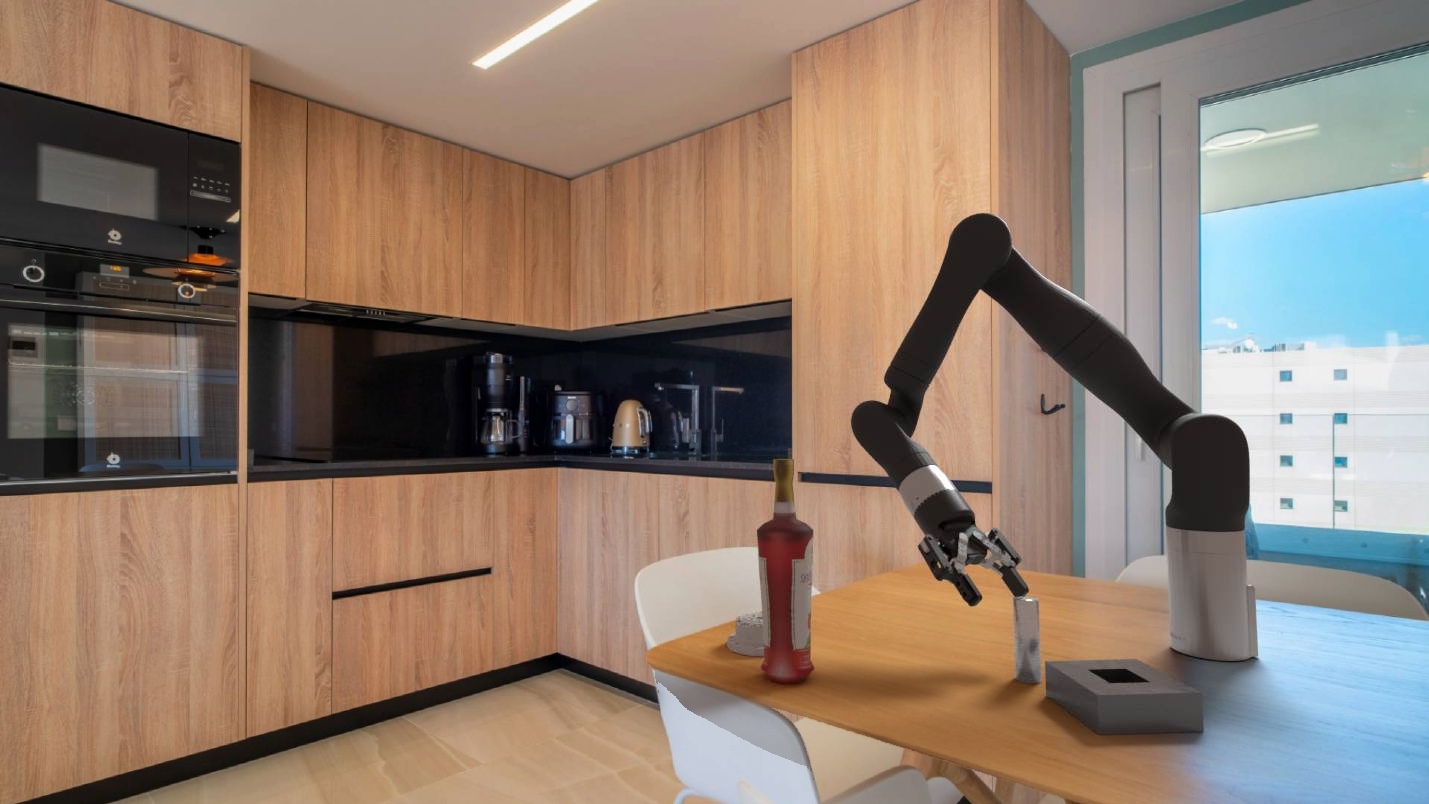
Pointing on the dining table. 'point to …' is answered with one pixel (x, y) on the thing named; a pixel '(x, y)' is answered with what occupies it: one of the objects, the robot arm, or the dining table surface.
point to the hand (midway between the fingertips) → (1001, 599)
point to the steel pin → (1027, 640)
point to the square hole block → (1124, 697)
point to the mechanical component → (748, 635)
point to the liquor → (786, 584)
